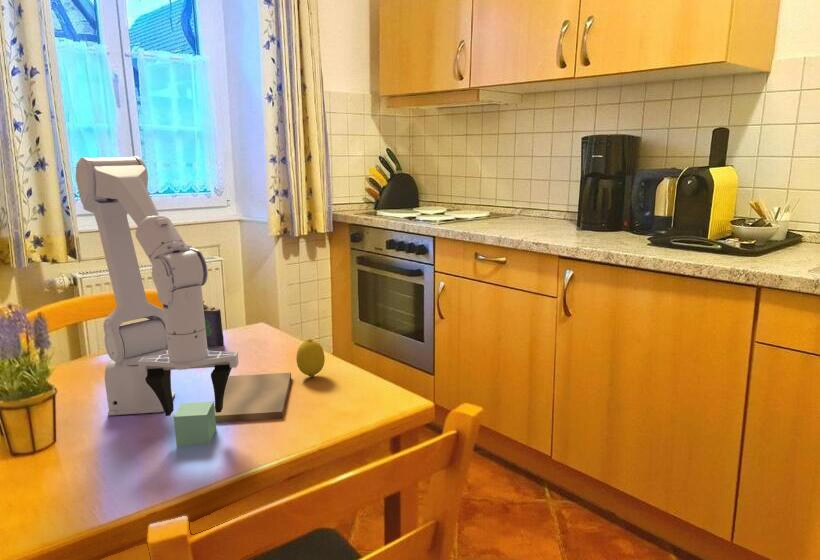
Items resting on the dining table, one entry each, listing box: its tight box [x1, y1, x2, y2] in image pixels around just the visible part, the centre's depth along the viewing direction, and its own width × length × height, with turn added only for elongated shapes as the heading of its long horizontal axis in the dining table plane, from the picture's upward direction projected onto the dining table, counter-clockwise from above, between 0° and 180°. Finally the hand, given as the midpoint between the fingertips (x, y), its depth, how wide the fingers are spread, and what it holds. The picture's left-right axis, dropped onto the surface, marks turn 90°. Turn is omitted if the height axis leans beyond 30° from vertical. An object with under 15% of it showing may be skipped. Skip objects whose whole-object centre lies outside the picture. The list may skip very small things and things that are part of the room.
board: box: [214, 372, 292, 423], centre depth 109 cm, size 12×18×1 cm, turn 6°
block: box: [173, 400, 217, 447], centre depth 94 cm, size 5×5×5 cm
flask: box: [203, 300, 225, 348], centre depth 138 cm, size 9×3×11 cm, turn 84°
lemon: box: [296, 338, 326, 378], centre depth 118 cm, size 6×6×8 cm
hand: (194, 411), depth 94 cm, fingers open, 7 cm apart
